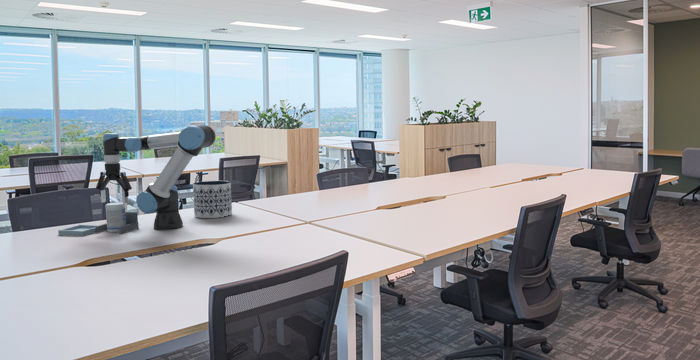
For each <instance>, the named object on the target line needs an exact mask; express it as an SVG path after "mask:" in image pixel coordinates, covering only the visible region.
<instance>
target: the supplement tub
mask: <svg viewBox="0 0 700 360" xmlns="http://www.w3.org/2000/svg"><path fill="white" fill-rule="evenodd" d="M125 204H126V203H123V202H110V203H109V202H108V203H106V204H105V216H106V217H105V218H106V223H107V230H106V231H107V232H108V233H119V227H121V226H125V225H126V213H125V212H126V205H125Z"/></svg>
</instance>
